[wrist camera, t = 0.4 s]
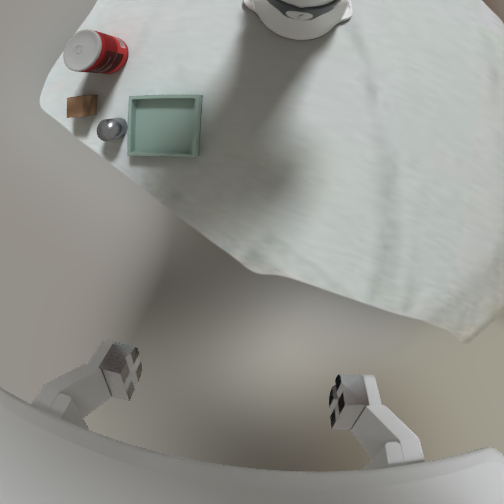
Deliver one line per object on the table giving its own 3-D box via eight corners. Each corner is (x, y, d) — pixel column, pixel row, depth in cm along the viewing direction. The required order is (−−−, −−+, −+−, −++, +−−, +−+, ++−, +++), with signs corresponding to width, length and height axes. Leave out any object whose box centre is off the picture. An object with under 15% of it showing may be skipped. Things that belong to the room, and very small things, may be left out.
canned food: (101, 37, 43) (70, 29, 33) (134, 39, 43) (105, 29, 34) (91, 72, 46) (58, 70, 37) (123, 76, 47) (92, 73, 37)
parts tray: (135, 96, 49) (129, 96, 46) (202, 95, 48) (199, 94, 46) (133, 153, 54) (127, 155, 51) (198, 155, 53) (194, 158, 51)
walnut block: (81, 97, 49) (67, 97, 44) (97, 95, 49) (83, 95, 44) (81, 115, 51) (66, 117, 46) (96, 114, 50) (82, 116, 46)
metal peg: (110, 118, 51) (97, 120, 46) (127, 117, 51) (115, 119, 46) (110, 137, 52) (96, 141, 48) (127, 137, 52) (114, 140, 48)
